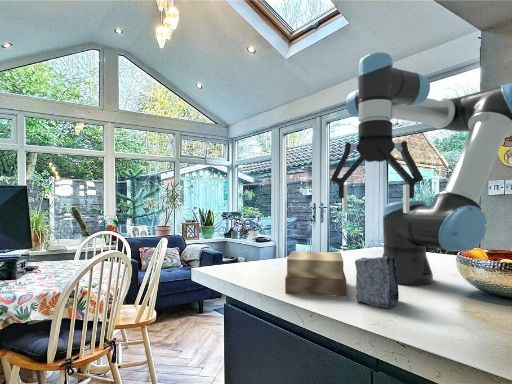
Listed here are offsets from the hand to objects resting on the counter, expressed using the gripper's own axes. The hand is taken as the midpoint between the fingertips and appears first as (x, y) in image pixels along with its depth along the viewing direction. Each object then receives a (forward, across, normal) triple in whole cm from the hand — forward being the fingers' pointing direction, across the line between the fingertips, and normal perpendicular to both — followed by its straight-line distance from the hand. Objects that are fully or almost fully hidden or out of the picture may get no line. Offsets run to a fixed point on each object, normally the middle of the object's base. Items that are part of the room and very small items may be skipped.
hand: (375, 212), depth 81 cm
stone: (+21, 0, 0) cm, 21 cm away
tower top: (+17, +14, -11) cm, 24 cm away
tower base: (+21, +14, -11) cm, 28 cm away
